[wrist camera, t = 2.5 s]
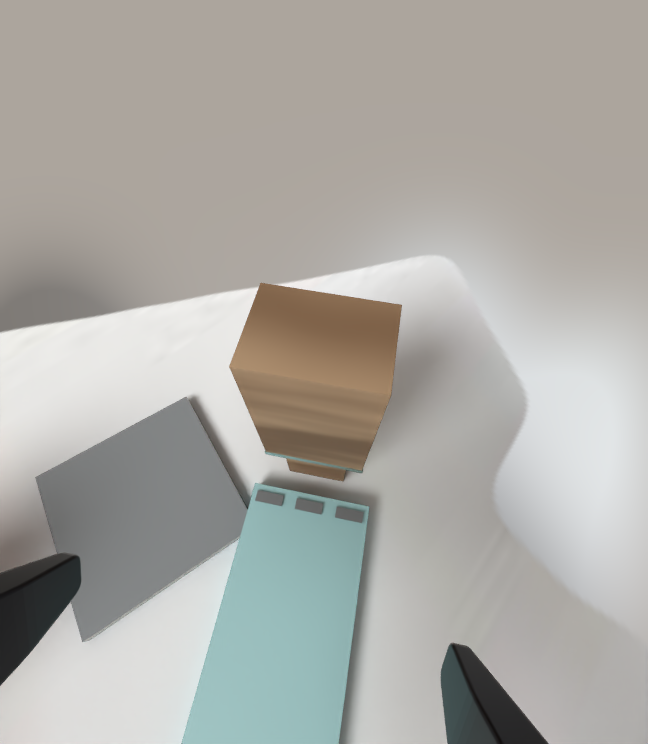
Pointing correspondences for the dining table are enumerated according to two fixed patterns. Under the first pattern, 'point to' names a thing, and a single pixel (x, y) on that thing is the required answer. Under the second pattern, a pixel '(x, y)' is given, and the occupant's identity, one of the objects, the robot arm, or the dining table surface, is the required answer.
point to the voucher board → (283, 625)
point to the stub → (317, 375)
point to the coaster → (140, 512)
